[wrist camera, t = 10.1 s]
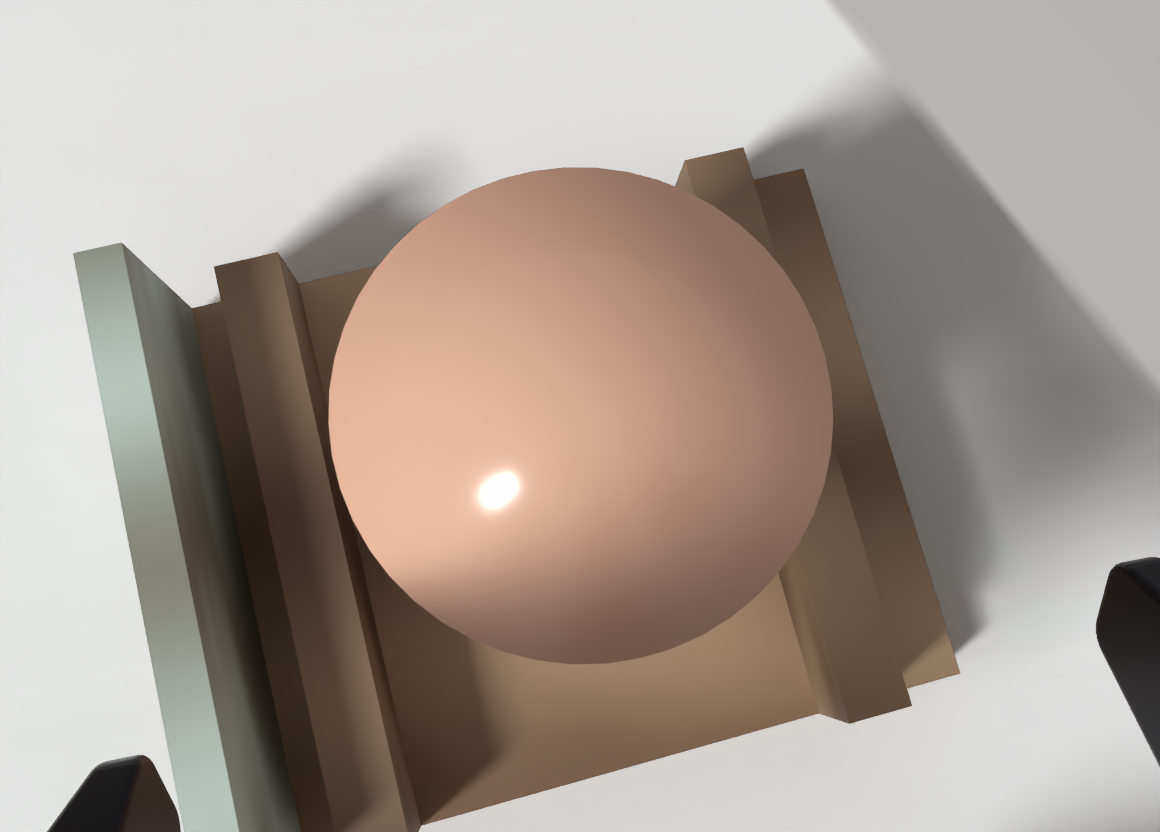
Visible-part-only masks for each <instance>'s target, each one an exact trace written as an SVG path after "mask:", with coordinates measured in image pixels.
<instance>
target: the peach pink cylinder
mask: <svg viewBox="0 0 1160 832" xmlns="http://www.w3.org/2000/svg"><path fill="white" fill-rule="evenodd" d="M328 424H329V433H330V442H331V451H332V458H333V462H334V466H335V470H336V474H337V478H338V482H339V486H340V490H341V492H342V495H343V497H344V500H345V502H346V505H347V507H348V510H349V512H350V515H351V517H352V520H353V522H354V523H355V525H356V527H357V529H358V530H359V532H360V534H361V536H362V538H363V539H364V541H365V543H366V545H367V546H368V548H369V550H370V551H371V552H372V554H373V555H374V556H375V558H376V559H377V560H378V562H379V563H380V564H381V566H382V567H383V568H384V570H385V571H386V572H387V574H388V575H389V576H390V577H391V578H392V579H393V580H394V581H395V582H396V583H397V584H398V585H399V586H400V587H401V588H402V589H403V590H404V591H405V592H406V593H407V594H408V595H409V596H410V597H411V598H412V599H413V600H414V601H415V602H416V603H417V604H419V605H420V606H421V607H423V608H424V609H425V610H427V611H428V612H429V613H431V614H432V615H433V616H434V617H436V618H437V619H438V620H440V621H441V622H443V623H444V624H446V625H448V626H450V627H451V628H453V629H455V630H457V631H458V632H460V633H462V634H464V635H465V636H467V637H469V638H471V639H473V640H475V641H478V642H480V643H483V644H485V645H488V646H490V647H493V648H495V649H498V650H500V651H503V652H506V653H510V654H514V655H518V656H522V657H526V658H530V659H533V660H538V661H547V662H555V663H564V664H607V663H614V662H620V661H626V660H633V659H639V658H643V657H646V656H650V655H653V654H656V653H660V652H663V651H666V650H670V649H673V648H675V647H677V646H680V645H682V644H684V643H686V642H688V641H691V640H693V639H695V638H697V637H699V636H702V635H704V634H705V633H707V632H709V631H710V630H712V629H713V628H715V627H717V626H718V625H720V624H721V623H723V622H725V621H726V620H728V619H729V618H731V617H732V616H734V615H735V614H736V613H737V612H738V611H740V610H741V609H742V608H743V607H744V606H746V605H747V604H748V603H749V602H750V601H752V600H753V599H754V598H755V597H756V596H758V594H759V593H760V592H761V591H762V590H763V589H764V588H765V587H766V586H767V585H768V584H769V582H770V581H771V580H772V579H773V578H774V577H775V576H776V575H777V574H778V573H779V572H780V570H781V569H782V567H783V566H784V564H785V563H786V562H787V560H788V559H789V557H790V556H791V554H792V553H793V552H794V550H795V549H796V547H797V546H798V544H799V542H800V540H801V539H802V537H803V535H804V533H805V531H806V529H807V527H808V525H809V523H810V521H811V519H812V517H813V515H814V512H815V509H816V507H817V504H818V501H819V498H820V495H821V492H822V490H823V487H824V484H825V479H826V474H827V469H828V464H829V460H830V455H831V445H832V431H833V407H832V390H831V384H830V378H829V373H828V368H827V363H826V357H825V354H824V351H823V348H822V345H821V342H820V339H819V336H818V333H817V330H816V327H815V325H814V323H813V321H812V318H811V316H810V314H809V312H808V310H807V308H806V306H805V304H804V302H803V300H802V298H801V296H800V295H799V293H798V291H797V290H796V288H795V287H794V285H793V284H792V282H791V281H790V279H789V277H788V276H787V274H786V273H785V271H784V270H783V269H782V268H781V266H780V265H779V264H778V263H777V262H776V261H775V259H774V258H773V257H772V256H771V255H770V253H769V252H768V251H767V250H766V249H765V247H764V246H763V245H761V244H760V243H759V242H758V241H757V240H756V239H755V238H754V237H753V236H752V235H751V234H750V233H749V232H747V231H746V230H745V229H744V228H743V227H742V226H741V225H740V224H738V223H737V222H735V221H734V220H733V219H731V218H730V217H729V216H727V215H726V214H724V213H723V212H722V211H720V210H719V209H717V208H716V207H714V206H713V205H711V204H709V203H707V202H705V201H703V200H702V199H700V198H698V197H696V196H694V195H693V194H691V193H689V192H687V191H684V190H682V189H679V188H677V187H674V186H672V185H669V184H667V183H664V182H662V181H659V180H656V179H652V178H648V177H644V176H641V175H637V174H633V173H629V172H623V171H616V170H608V169H600V168H557V169H548V170H540V171H532V172H528V173H524V174H520V175H516V176H512V177H507V178H503V179H500V180H498V181H495V182H492V183H490V184H487V185H485V186H482V187H479V188H477V189H474V190H472V191H470V192H468V193H466V194H464V195H462V196H461V197H459V198H457V199H455V200H453V201H451V202H449V203H448V204H446V205H444V206H443V207H441V208H440V209H438V210H437V211H436V212H434V213H433V214H431V215H430V216H429V217H427V218H426V219H424V220H423V221H422V222H420V223H419V224H418V225H416V226H415V227H414V228H413V229H412V230H411V231H410V232H409V233H408V234H407V235H406V236H405V237H404V238H403V239H401V240H400V241H399V242H398V243H397V244H396V245H395V246H394V247H393V248H392V250H391V251H390V252H389V253H388V255H387V256H386V257H385V258H384V259H383V261H382V262H381V263H380V264H379V265H378V267H377V268H376V269H375V270H374V272H373V273H372V275H371V277H370V278H369V280H368V281H367V283H366V285H365V286H364V288H363V289H362V291H361V293H360V294H359V296H358V297H357V299H356V302H355V304H354V306H353V308H352V310H351V313H350V315H349V317H348V319H347V321H346V324H345V326H344V329H343V332H342V335H341V338H340V342H339V345H338V348H337V352H336V355H335V358H334V365H333V371H332V377H331V383H330V389H329V422H328Z"/></svg>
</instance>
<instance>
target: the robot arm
mask: <svg viewBox="0 0 1160 832" xmlns="http://www.w3.org/2000/svg"><path fill="white" fill-rule="evenodd" d="M1096 634H1097V639H1098V643H1099V646H1100V648H1101V651H1102V653H1103V655H1104V657H1105V659H1106V661H1107V663H1108V665H1109V667H1110V669H1111V671H1112V673H1113V675H1114V677H1115V679H1116V681H1117V683H1118V685H1119V687H1120V689H1121V691H1122V693H1123V695H1124V696H1125V698H1126V700H1127V702H1128V704H1129V706H1130V708H1131V710H1132V712H1133V714H1134V716H1135V718H1136V720H1137V722H1138V724H1139V726H1140V728H1141V730H1142V732H1143V734H1144V736H1145V738H1146V740H1147V742H1148V744H1149V746H1150V748H1151V750H1152V752H1153V754H1154V756H1155V758H1156V760H1157V762H1158V764H1159V766H1160V558H1157V557H1148V558H1143V559H1138V560H1133V561H1127V562H1122V563H1119V564H1117V565H1115V566H1114V567H1113V569H1112V570H1111V571H1110V573H1109V576H1108V580H1107V583H1106V587H1105V591H1104V595H1103V598H1102V602H1101V606H1100V610H1099V614H1098V617H1097V622H1096ZM47 832H181V831H180V822H179V817H178V813H177V810H176V808H175V805H174V803H173V801H172V799H171V797H170V795H169V794H168V792H167V790H166V788H165V786H164V784H163V782H162V780H161V778H160V776H159V774H158V772H157V770H156V768H155V766H154V764H153V763H152V761H151V760H150V759H149V758H148V757H146V756H144V755H136V756H131V757H126V758H121V759H116V760H111V761H106V762H103V763H101V764H99V765H98V766H97V767H95V768H94V769H93V770H92V771H91V773H90V774H89V775H88V776H87V778H86V779H85V781H84V782H83V783H82V785H81V786H80V787H79V789H78V790H77V792H76V793H75V794H74V796H73V797H72V798H71V800H70V801H69V802H68V804H67V805H66V807H65V808H64V809H63V811H62V812H61V813H60V815H59V816H58V817H57V819H56V820H55V822H54V823H53V824H52V826H51V827H50V828H49V830H48V831H47Z"/></svg>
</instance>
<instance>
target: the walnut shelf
mask: <svg viewBox="0 0 1160 832" xmlns="http://www.w3.org/2000/svg"><path fill="white" fill-rule="evenodd" d="M675 187H677V188H679V189H682V190H684V191H687V192H689V193H691V194H693V195H694V196H696V197H698V198H700V199H702V200H703V201H705V202H707V203H709V204H711V205H713V206H714V207H716V208H717V209H719V210H720V211H722V212H723V213H724V214H726V215H727V216H729V217H730V218H731V219H733V220H734V221H735V222H737V223H738V224H740V225H741V226H742V227H743V228H744V229H745V230H746V231H747V232H749V233H750V234H751V235H752V236H753V237H754V238H755V239H756V240H757V241H758V242H759V243H760V244H761V245H763V246H764V247H765V249H766V250H767V251H768V252H769V253H770V255H771V256H772V257H773V258H774V259H775V261H776V262H777V263H778V264H779V265H780V266H781V268H782V269H783V270H784V271H785V273H786V274H787V276H788V277H789V279H790V281H791V282H792V284H793V285H794V287H795V288H796V290H797V291H798V293H799V295H800V296H801V298H802V300H803V302H804V304H805V306H806V308H807V310H808V312H809V314H810V316H811V318H812V321H813V323H814V325H815V327H816V330H817V333H818V336H819V339H820V342H821V345H822V348H823V351H824V354H825V357H826V363H827V368H828V373H829V378H830V384H831V390H832V407H833V431H832V445H831V455H830V460H829V464H828V469H827V474H826V479H825V484H824V487H823V490H822V492H821V495H820V498H819V501H818V504H817V507H816V509H815V512H814V515H813V517H812V519H811V521H810V523H809V525H808V527H807V529H806V531H805V533H804V535H803V537H802V539H801V540H800V542H799V544H798V546H797V547H796V549H795V550H794V552H793V553H792V554H791V556H790V557H789V559H788V560H787V562H786V563H785V564H784V566H783V567H782V569H781V570H780V572H779V573H778V574H777V575H776V576H775V577H774V578H773V579H772V580H771V581H770V582H769V584H768V585H767V586H766V587H765V588H764V589H763V590H762V591H761V592H760V593H759V594H758V596H756V597H755V598H754V599H753V600H752V601H750V602H749V603H748V604H747V605H746V606H744V607H743V608H742V609H741V610H740V611H738V612H737V613H736V614H735V615H734V616H732V617H731V618H729V619H728V620H726V621H725V622H723V623H721V624H720V625H718V626H717V627H715V628H713V629H712V630H710V631H709V632H707V633H705V634H704V635H702V636H699V637H697V638H695V639H693V640H691V641H688V642H686V643H684V644H682V645H680V646H677V647H675V648H673V649H670V650H666V651H663V652H660V653H656V654H653V655H650V656H646V657H643V658H639V659H633V660H626V661H620V662H614V663H607V664H564V663H555V662H547V661H538V660H533V659H530V658H526V657H522V656H518V655H514V654H510V653H506V652H503V651H500V650H498V649H495V648H493V647H490V646H488V645H485V644H483V643H480V642H478V641H475V640H473V639H471V638H469V637H467V636H465V635H464V634H462V633H460V632H458V631H457V630H455V629H453V628H451V627H450V626H448V625H446V624H444V623H443V622H441V621H440V620H438V619H437V618H436V617H434V616H433V615H432V614H431V613H429V612H428V611H427V610H425V609H424V608H423V607H421V606H420V605H419V604H417V603H416V602H415V601H414V600H413V599H412V598H411V597H410V596H409V595H408V594H407V593H406V592H405V591H404V590H403V589H402V588H401V587H400V586H399V585H398V584H397V583H396V582H395V581H394V580H393V579H392V578H391V577H390V576H389V575H388V574H387V572H386V571H385V570H384V568H383V567H382V566H381V564H380V563H379V562H378V560H377V559H376V558H375V556H374V555H373V554H372V552H371V551H370V550H369V548H368V546H367V545H366V543H365V541H364V539H363V538H362V536H361V534H360V532H359V530H358V529H357V527H356V525H355V523H354V522H353V520H352V517H351V515H350V512H349V510H348V507H347V505H346V502H345V500H344V497H343V495H342V492H341V490H340V486H339V482H338V478H337V474H336V470H335V466H334V462H333V458H332V451H331V442H330V433H329V424H328V422H329V389H330V383H331V377H332V371H333V365H334V358H335V355H336V352H337V348H338V345H339V342H340V338H341V335H342V332H343V329H344V326H345V324H346V321H347V319H348V317H349V315H350V313H351V310H352V308H353V306H354V304H355V302H356V299H357V297H358V296H359V294H360V293H361V291H362V289H363V288H364V286H365V285H366V283H367V281H368V280H369V278H370V277H371V275H372V273H373V272H374V270H375V269H376V268H377V267H378V266H375V267H371V268H367V269H362V270H358V271H353V272H349V273H345V274H340V275H336V276H332V277H327V278H323V279H318V280H314V281H310V282H305V283H301V284H298V282H297V281H296V279H295V277H294V276H293V274H292V273H291V271H290V270H289V268H288V267H287V265H286V264H285V262H284V261H283V259H282V258H281V256H280V255H279V253H278V252H277V253H272V254H268V255H263V256H259V257H255V258H250V259H246V260H241V261H237V262H232V263H228V264H223V265H219V266H215V267H214V269H215V274H216V279H217V283H218V288H219V293H220V297H221V302H218V303H214V304H209V305H205V306H200V307H196V308H191V307H190V306H189V305H188V304H187V303H185V302H184V301H183V300H182V299H181V298H180V297H179V296H178V295H177V294H176V293H175V292H174V291H173V290H172V289H171V288H169V287H168V286H167V285H166V284H165V283H164V282H163V281H162V280H161V279H160V278H159V277H158V276H157V275H156V274H155V273H153V272H152V271H151V270H150V269H149V268H148V267H147V266H146V265H145V264H144V263H143V262H142V261H141V260H140V259H138V258H137V257H136V256H135V255H134V254H133V253H132V252H131V251H130V250H129V249H128V248H127V247H126V246H125V245H124V244H122V243H118V244H113V245H109V246H104V247H100V248H95V249H91V250H86V251H81V252H77V253H73V255H74V260H75V265H76V270H77V276H78V281H79V286H80V291H81V296H82V302H83V307H84V312H85V317H86V323H87V328H88V333H89V338H90V343H91V349H92V354H93V359H94V364H95V369H96V375H97V380H98V385H99V390H100V396H101V401H102V406H103V411H104V416H105V422H106V427H107V432H108V437H109V443H110V448H111V453H112V458H113V463H114V469H115V474H116V479H117V484H118V489H119V495H120V500H121V505H122V510H123V516H124V521H125V526H126V531H127V536H128V542H129V547H130V552H131V557H132V563H133V568H134V573H135V578H136V583H137V589H138V594H139V599H140V604H141V609H142V615H143V620H144V625H145V630H146V636H147V641H148V646H149V651H150V656H151V662H152V667H153V672H154V677H155V683H156V688H157V693H158V698H159V703H160V709H161V714H162V719H163V724H164V729H165V735H166V740H167V745H168V750H169V756H170V761H171V766H172V771H173V776H174V782H175V787H176V792H177V797H178V803H179V808H180V813H181V818H182V823H183V829H184V832H419V829H420V827H421V825H425V824H429V823H432V822H436V821H439V820H443V819H446V818H450V817H453V816H457V815H460V814H464V813H468V812H471V811H475V810H478V809H482V808H485V807H489V806H492V805H496V804H499V803H503V802H506V801H510V800H514V799H517V798H521V797H524V796H528V795H531V794H535V793H538V792H542V791H545V790H549V789H553V788H556V787H560V786H563V785H567V784H570V783H574V782H577V781H581V780H584V779H588V778H591V777H595V776H599V775H602V774H606V773H609V772H613V771H616V770H620V769H623V768H627V767H630V766H634V765H638V764H641V763H645V762H648V761H652V760H655V759H659V758H662V757H666V756H669V755H673V754H676V753H680V752H684V751H687V750H691V749H694V748H698V747H701V746H705V745H708V744H712V743H715V742H719V741H723V740H726V739H730V738H733V737H737V736H740V735H744V734H747V733H751V732H754V731H758V730H761V729H765V728H769V727H772V726H776V725H779V724H783V723H786V722H790V721H793V720H797V719H800V718H804V717H808V716H811V715H815V714H818V713H819V714H822V715H825V716H828V717H831V718H834V719H837V720H840V721H843V722H846V723H849V724H850V723H853V722H857V721H860V720H864V719H867V718H871V717H874V716H878V715H881V714H885V713H888V712H892V711H895V710H899V709H902V708H906V707H909V706H912V704H911V701H910V697H909V694H908V691H907V688H910V687H914V686H917V685H921V684H924V683H928V682H932V681H935V680H939V679H942V678H946V677H949V676H953V675H956V674H960V671H959V668H958V664H957V661H956V658H955V655H954V652H953V648H952V645H951V642H950V639H949V636H948V632H947V629H946V626H945V623H944V619H943V616H942V613H941V610H940V607H939V603H938V600H937V597H936V594H935V590H934V587H933V584H932V581H931V578H930V574H929V571H928V568H927V565H926V561H925V558H924V555H923V552H922V549H921V545H920V542H919V539H918V536H917V533H916V529H915V526H914V523H913V520H912V516H911V513H910V510H909V507H908V504H907V500H906V497H905V494H904V491H903V487H902V484H901V481H900V478H899V475H898V471H897V468H896V465H895V462H894V459H893V455H892V452H891V449H890V446H889V442H888V439H887V436H886V433H885V430H884V426H883V423H882V420H881V417H880V413H879V410H878V407H877V404H876V401H875V397H874V394H873V391H872V388H871V384H870V381H869V378H868V375H867V372H866V368H865V365H864V362H863V359H862V356H861V352H860V349H859V346H858V343H857V339H856V336H855V333H854V330H853V327H852V323H851V320H850V317H849V314H848V310H847V307H846V304H845V301H844V298H843V294H842V291H841V288H840V285H839V282H838V278H837V275H836V272H835V269H834V265H833V262H832V259H831V256H830V253H829V249H828V246H827V243H826V240H825V236H824V233H823V230H822V227H821V224H820V220H819V217H818V214H817V211H816V207H815V204H814V201H813V198H812V195H811V191H810V188H809V185H808V182H807V179H806V175H805V172H804V169H799V170H795V171H791V172H786V173H782V174H778V175H773V176H769V177H764V178H760V179H756V180H753V178H752V175H751V171H750V168H749V165H748V161H747V158H746V155H745V151H744V148H738V149H734V150H729V151H725V152H721V153H716V154H712V155H707V156H703V157H698V158H694V159H689V160H685V161H684V164H683V167H682V170H681V172H680V175H679V178H678V180H677V183H676V186H675Z"/></svg>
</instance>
